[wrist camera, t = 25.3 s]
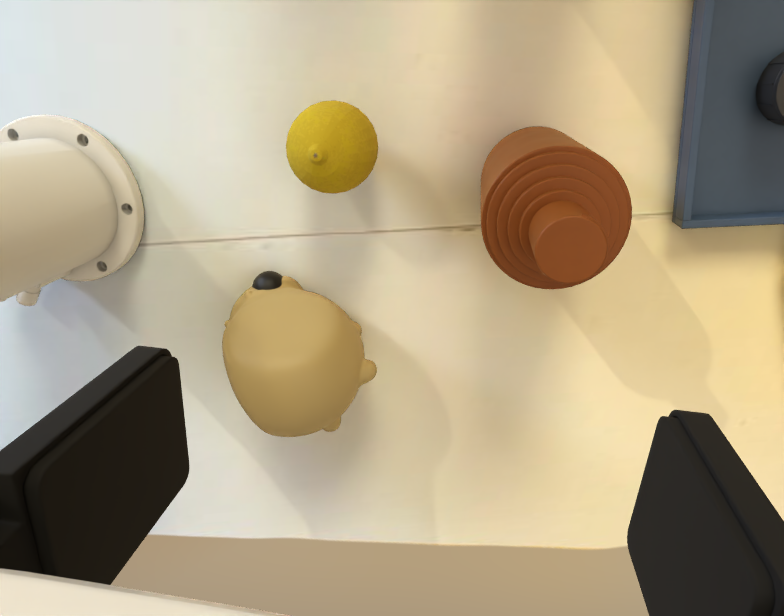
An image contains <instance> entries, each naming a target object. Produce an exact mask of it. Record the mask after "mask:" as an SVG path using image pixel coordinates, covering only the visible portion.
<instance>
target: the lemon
mask: <svg viewBox="0 0 784 616" xmlns="http://www.w3.org/2000/svg"><path fill="white" fill-rule="evenodd" d="M286 151H287V158H288V161H289V164H290V167H291V169H292V170H293V172H294V174H295V175H296V176H297V177H298V178H299V179H300V181H301V182H302V183H304V184H305V185H307V186H308V187H310V188H311V189H314V190H317V191H320V192H323V193H340V192H346V191H348V190H350V189H352V188H355V187H357V186H358V185H359V184H360V183H362V182H363V181H364V180H365V179H366V178H367V177H368V175H369V174H370V172H371V171H372V170H373V167H374V165H375V162H376V159H377V152H378V142H377V135H376V133H375V130H374V127H373V125H372V124H371V122H370V121H369V119H368V118H367V116H366V115H364V114H363V113H362V112H361V111H360V110H359V109H358V108H356V107H354V106H352V105H350V104H348V103H345V102H340V101H323V102H320V103H317V104H314V105H311V106H310V107H308V108H307V109H306V110H304V111H303V112H302V113H300V115H299V116H298V117H297V118H296V120H295V121H294V122H293V124H292V126H291V128H290V130H289V133H288V137H287V143H286Z"/></svg>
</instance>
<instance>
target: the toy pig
mask: <svg viewBox="0 0 784 616" xmlns="http://www.w3.org/2000/svg"><path fill="white" fill-rule="evenodd" d="M224 325H225V327H226V329H225V331H224V334H223V341H222V349H223V357H224V363H225V367H226V371H227V375H228V378H229V381H230V384H231V386H232V389H233V391H234V393H235V395H236V397H237V399H238V401H239V403H240V404H241V406H242V408H243V409H244V411H245V412H246V413H247V415H248V416H249V417H250V419H251V420H252V421H253V422H254V423H255V424H256V425H257V426H258V427H259V428H260V429H261V430H263V431H264V432H266V433H268V434H271V435H274V436H281V437H296V436H303V435H308V434H311V433H314V432H317V431H319V430H321V429H324V430H325V431H328V432H332V431H335V430H336V429H338V427H339V426H340V423H341V415H342V414H343V413H344V412H345V411H346V409H347V408H348V407H349V405H350V404H351V402H352V401H353V399H354V397H355V395H356V393H357V391H358V389H359V387H360V386H361V385H363V384H365V383H367V382H369V381H370V380H372V379H373V378H374V377H375V375H376V372H377V368H376V365H375V364H374V362H372V361H370V360H366V359H364V349H363V344H362V340H361V337H360V336H361V333H362V330H361V327H360V325H359V324H358V323H356V322H354V321H352V320H351V319H350V318H349V316H348V315H347V314H346V313H345V312H344V311H343V310H342V309H341V308H340V307H339V306H338V305H336V304H335V303H334V302H332V301H331V300H329V299H327V298H325V297H323V296H321V295H319V294H316V293H313V292H308V291H304V290H303V289H302V287H301V286H300V285H299V283H298V282H297V281H295V280H294V279H292V278H290V277H287V276H282V275H280V274H278V273H276V272H273V271H266V272H263V273H261V274H259V275H258V276H257V277H256V278H255V280H254V282H253V286H252V287H250V288H249V289H248V290H246V291H245V292H244V293H243V294H242V295H241V296H240V298H239V299H238V300H237V301H236V303H235V304H234V306H233V309H232V312H231V315H230V320H227V321H226V322H225V324H224Z"/></svg>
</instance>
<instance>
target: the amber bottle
mask: <svg viewBox="0 0 784 616" xmlns="http://www.w3.org/2000/svg"><path fill="white" fill-rule="evenodd" d="M631 218H632V206H631V199H630V195H629V192H628V189H627V186H626V184H625V182H624V180H623V178H622V177H621V175H620V174H619V172H618V171H617V170H616V169H615V168H614V167H613V165H611V164H610V163H609V162H608V161H607V160H606V159H604V158H603V157H601V156H599V155H598V154H596V153H595V152H593V151H591V150H590V149H588V148H586V147H585V146H583V145H581V144H580V143H578V142H577V141H575V140H573V139H572V138H570V137H568V136H567V135H565V134H564V133H562V132H560V131H558V130H555V129H552V128H548V127H528V128H524V129H520V130H518V131H515V132H513V133H511V134H509V135H508V136H506V137H505V138H503V139H502V140H501V141H500V142H499V143H498V144H497V145H496V146H495V147H494V148H493V149H492V151H491V152H490V154H489V155H488V157H487V159H486V161H485V164H484V167H483V170H482V175H481V228H482V235H483V240H484V243H485V246H486V248H487V251H488V253H489V254H490V256H491V258H492V259H493V261H494V262H495V263H496V265H497V266H498V267H499V268H500V269H501V270H502V271H503V272H504V273H506V274H507V275H508V276H509V277H511V278H513V279H514V280H516V281H518V282H520V283H523V284H525V285H528V286H531V287H535V288H541V289H561V288H567V287H572V286H575V285H578V284H581V283H583V282H585V281H587V280H589V279H591V278H593V277H594V276H596V275H598V274H599V273H600V272H602V271H603V270H604V269H605V268H606V267H607V266H608V265H609V264H610V263H611V262H612V261H613V260H614V259H615V258H616V256H617V255H618V254H619V252H620V250H621V249H622V247H623V245H624V243H625V241H626V239H627V236H628V233H629V229H630V225H631Z"/></svg>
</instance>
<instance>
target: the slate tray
mask: <svg viewBox="0 0 784 616" xmlns="http://www.w3.org/2000/svg"><path fill="white" fill-rule="evenodd" d="M782 52H784V0H694V3H693V13H692V24H691V34H690V44H689V54H688V65H687V75H686V85H685V95H684V106H683V116H682V126H681V136H680V147H679V157H678V167H677V177H676V188H675V198H674V208H673V218H672V222H674V223H675V224H676V225H678V226H679V227H681V228H682V229H685V228H707V227H729V226H751V225H773V224H784V125H779V124H775V123H773V122H771V121H768V120H767V118H766V117H764V116H763V114H762V113H761V111H760V110H759V108H758V105H757V101H756V89H757V83H758V81H759V78H760V76H761V74H762V72H763V71H764V69H765V68H766V67H767V65H768V63H770V62H771V61H772V60H773V59H774V58H775V57H776V56H778V55H779V54H781V53H782Z"/></svg>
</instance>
